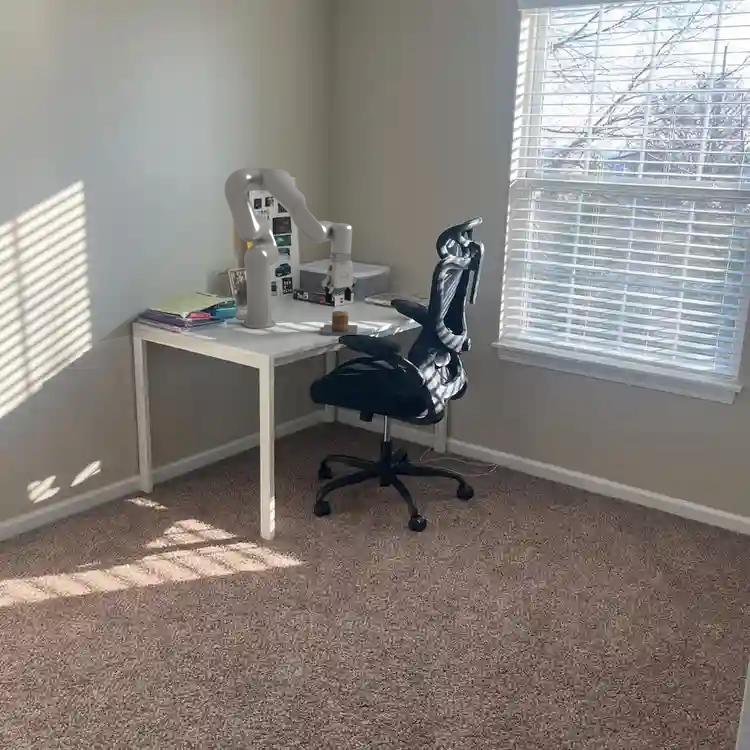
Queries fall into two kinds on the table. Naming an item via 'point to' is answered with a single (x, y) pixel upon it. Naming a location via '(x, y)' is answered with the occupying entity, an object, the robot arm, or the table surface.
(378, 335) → the table surface
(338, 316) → the wooden cylinder
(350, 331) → the shaft plate
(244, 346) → the table surface
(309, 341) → the table surface
